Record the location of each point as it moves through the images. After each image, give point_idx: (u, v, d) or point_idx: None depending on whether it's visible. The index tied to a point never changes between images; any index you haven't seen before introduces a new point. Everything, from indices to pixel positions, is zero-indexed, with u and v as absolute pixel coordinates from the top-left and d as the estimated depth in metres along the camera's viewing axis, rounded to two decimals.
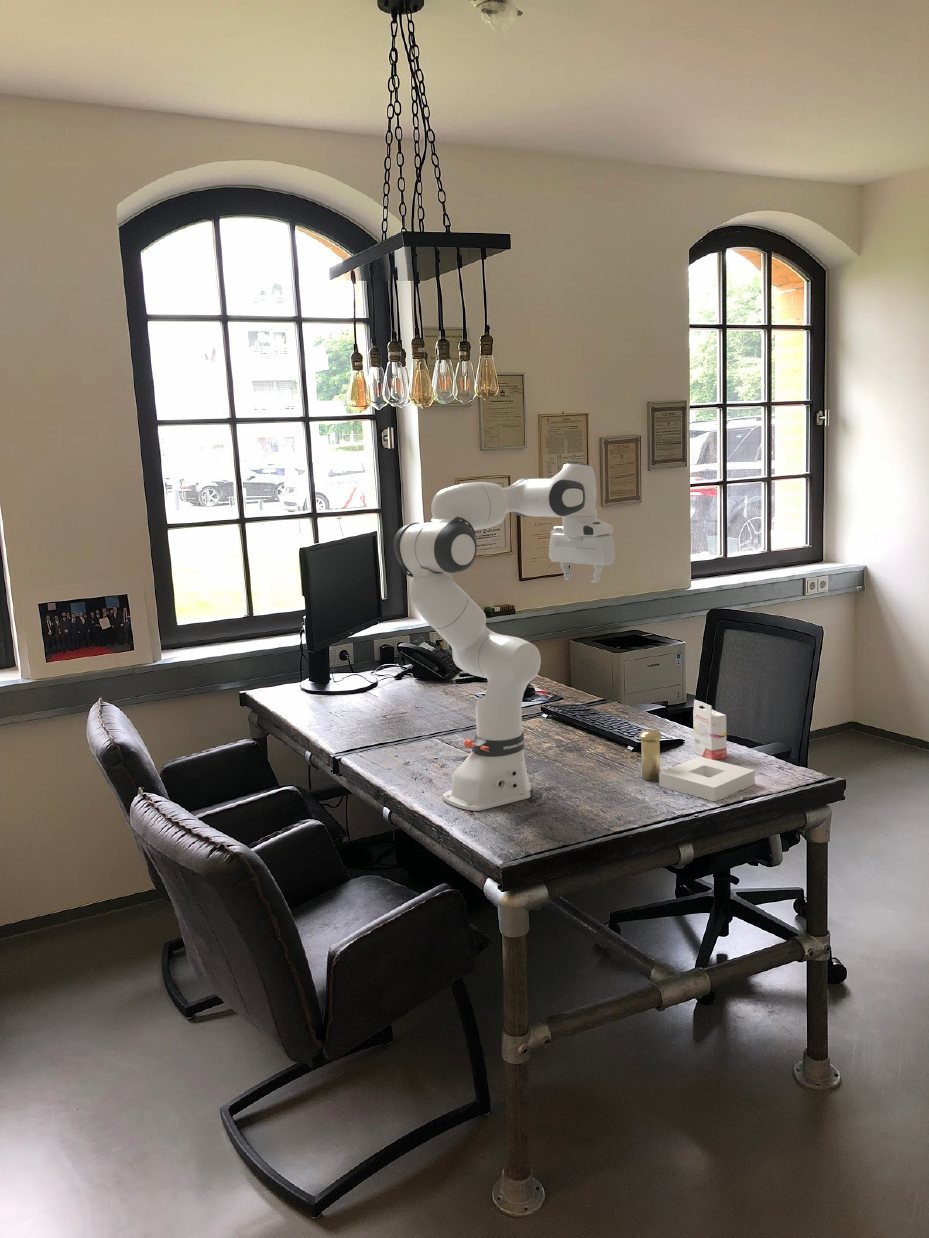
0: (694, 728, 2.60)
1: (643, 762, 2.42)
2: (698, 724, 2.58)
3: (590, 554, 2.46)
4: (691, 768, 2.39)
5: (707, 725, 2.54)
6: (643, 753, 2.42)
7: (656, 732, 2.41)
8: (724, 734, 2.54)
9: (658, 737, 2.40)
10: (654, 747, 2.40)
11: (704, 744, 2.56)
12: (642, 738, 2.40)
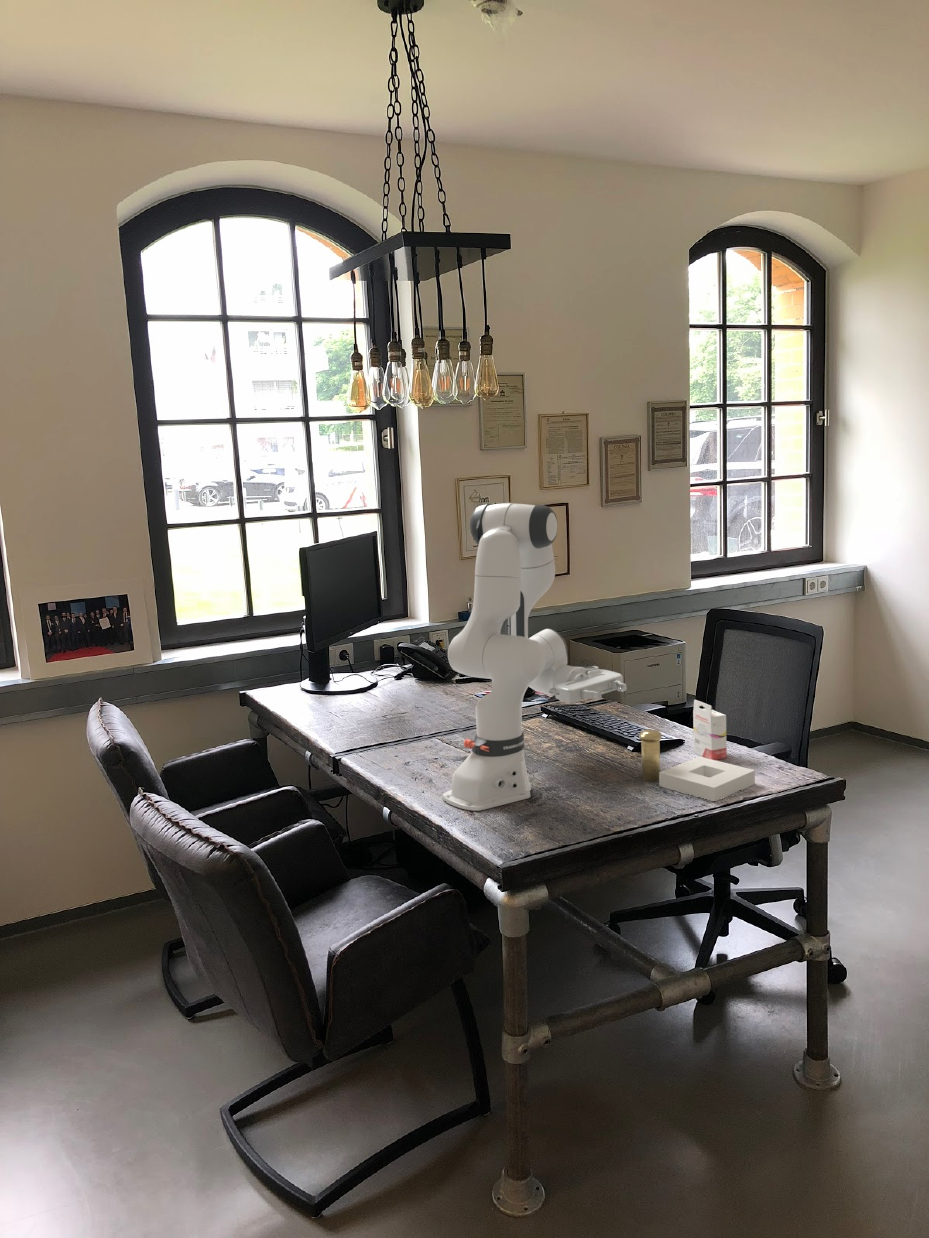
0: (694, 728, 2.60)
1: (643, 762, 2.42)
2: (698, 724, 2.58)
3: (604, 676, 2.58)
4: (691, 768, 2.39)
5: (707, 725, 2.54)
6: (643, 753, 2.42)
7: (656, 732, 2.41)
8: (724, 734, 2.54)
9: (658, 737, 2.40)
10: (654, 747, 2.40)
11: (704, 744, 2.56)
12: (642, 738, 2.40)
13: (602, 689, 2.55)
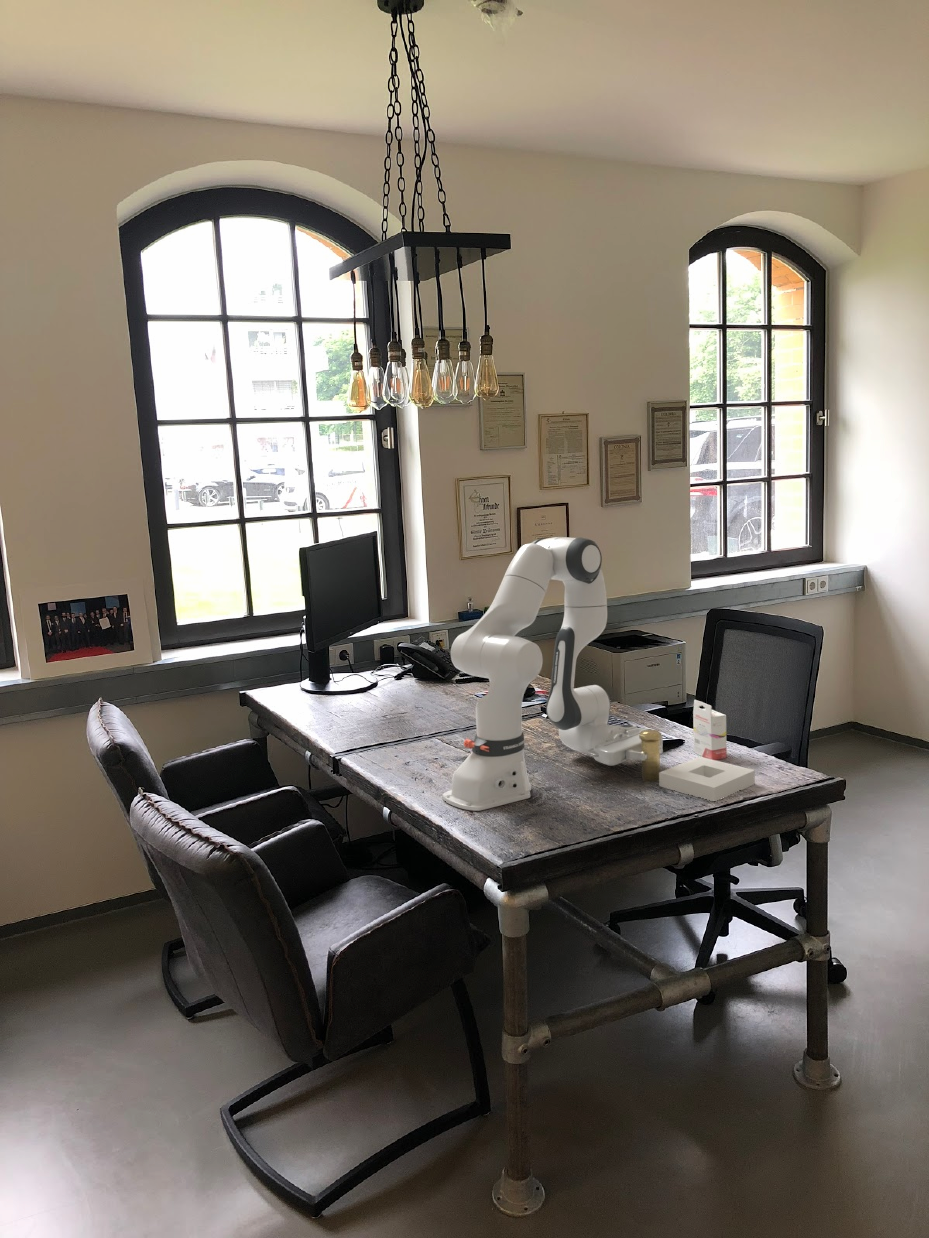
0: (694, 728, 2.60)
1: (643, 762, 2.42)
2: (698, 724, 2.58)
3: None
4: (691, 768, 2.39)
5: (707, 725, 2.54)
6: None
7: (656, 732, 2.41)
8: (724, 734, 2.54)
9: (658, 737, 2.40)
10: (654, 747, 2.40)
11: (704, 744, 2.56)
12: (642, 738, 2.40)
13: None
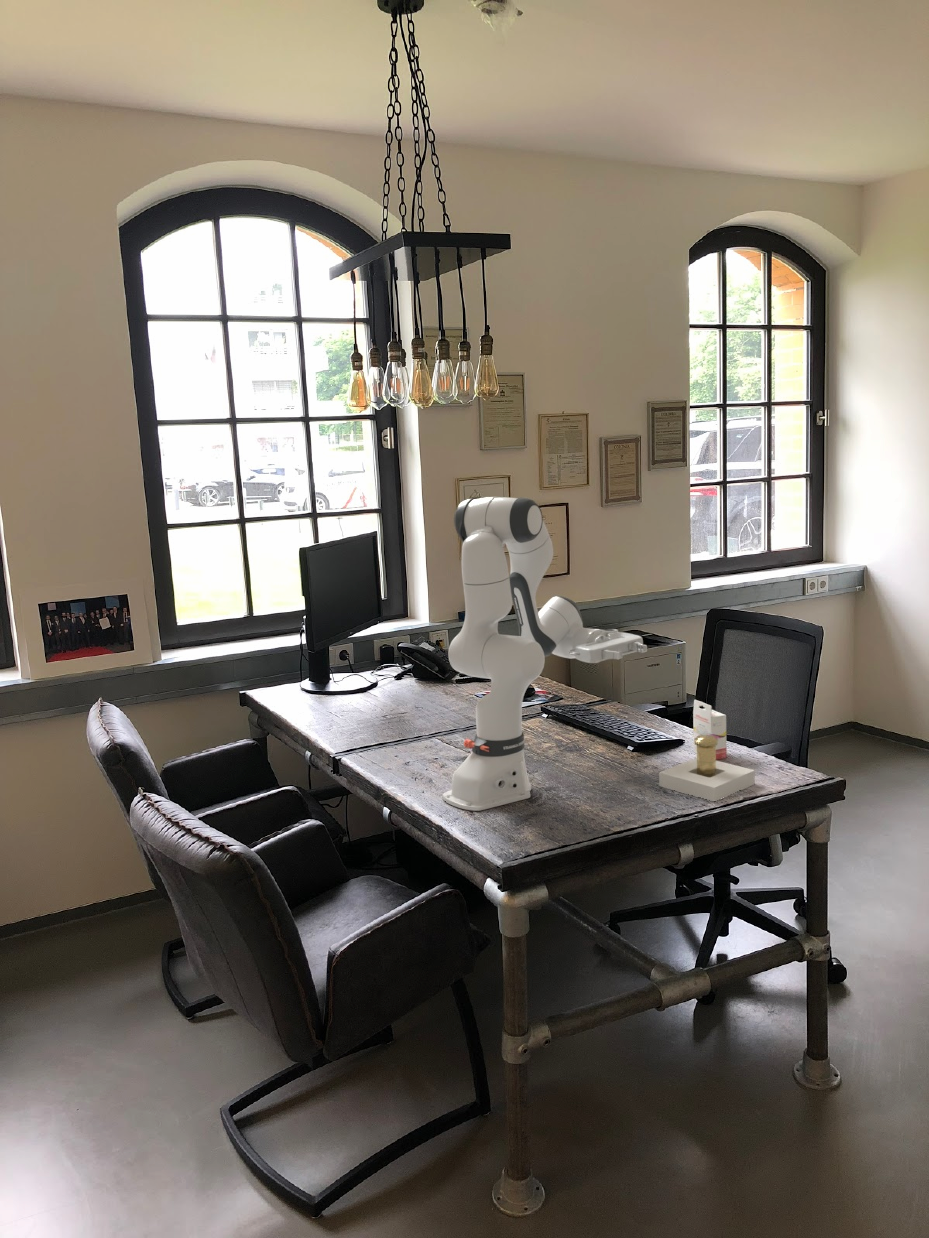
0: (694, 728, 2.60)
1: (699, 768, 2.35)
2: (698, 724, 2.58)
3: (624, 638, 2.57)
4: (691, 768, 2.39)
5: (707, 725, 2.54)
6: (699, 759, 2.35)
7: (712, 737, 2.34)
8: (724, 734, 2.54)
9: (715, 743, 2.33)
10: (711, 753, 2.33)
11: None
12: (698, 744, 2.34)
13: (622, 650, 2.54)
